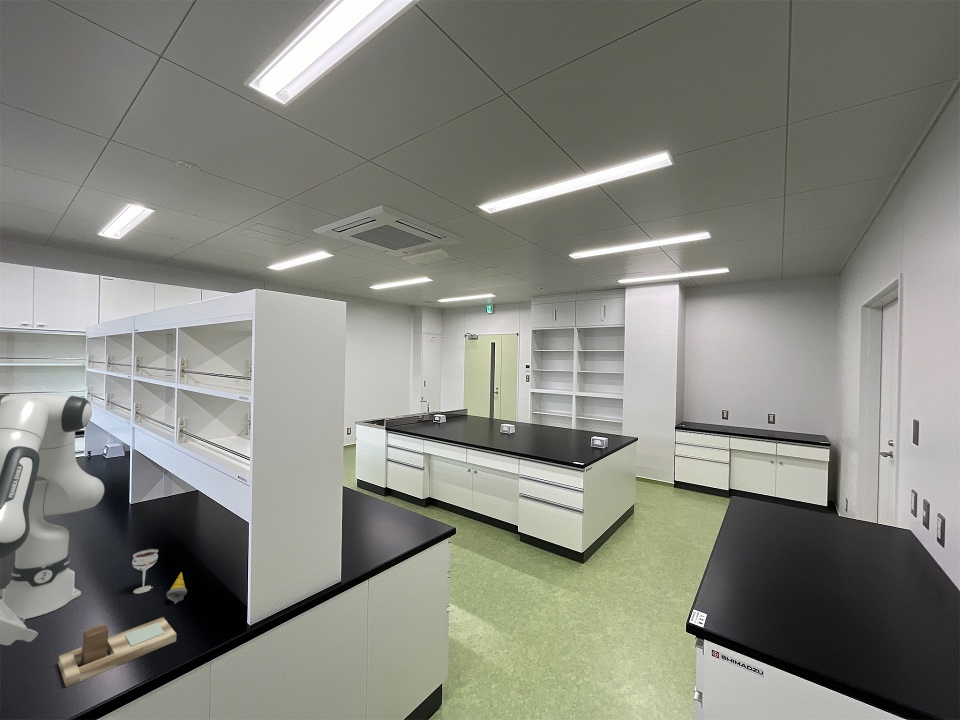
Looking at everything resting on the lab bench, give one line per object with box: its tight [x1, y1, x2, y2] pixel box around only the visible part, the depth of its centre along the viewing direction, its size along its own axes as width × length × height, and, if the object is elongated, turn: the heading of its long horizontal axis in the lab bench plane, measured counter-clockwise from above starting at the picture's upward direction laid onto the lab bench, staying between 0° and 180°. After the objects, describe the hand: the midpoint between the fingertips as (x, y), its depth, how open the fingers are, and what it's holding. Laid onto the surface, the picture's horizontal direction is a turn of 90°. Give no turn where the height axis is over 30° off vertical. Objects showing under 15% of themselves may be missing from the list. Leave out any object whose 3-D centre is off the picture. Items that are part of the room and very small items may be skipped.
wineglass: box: [131, 548, 159, 594], centre depth 133 cm, size 7×7×12 cm
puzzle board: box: [57, 616, 177, 688], centre depth 103 cm, size 12×21×2 cm, turn 143°
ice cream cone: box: [165, 571, 188, 605], centre depth 128 cm, size 5×5×10 cm
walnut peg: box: [80, 623, 109, 666], centre depth 99 cm, size 4×4×8 cm
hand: (27, 629), depth 89 cm, fingers open, 8 cm apart
